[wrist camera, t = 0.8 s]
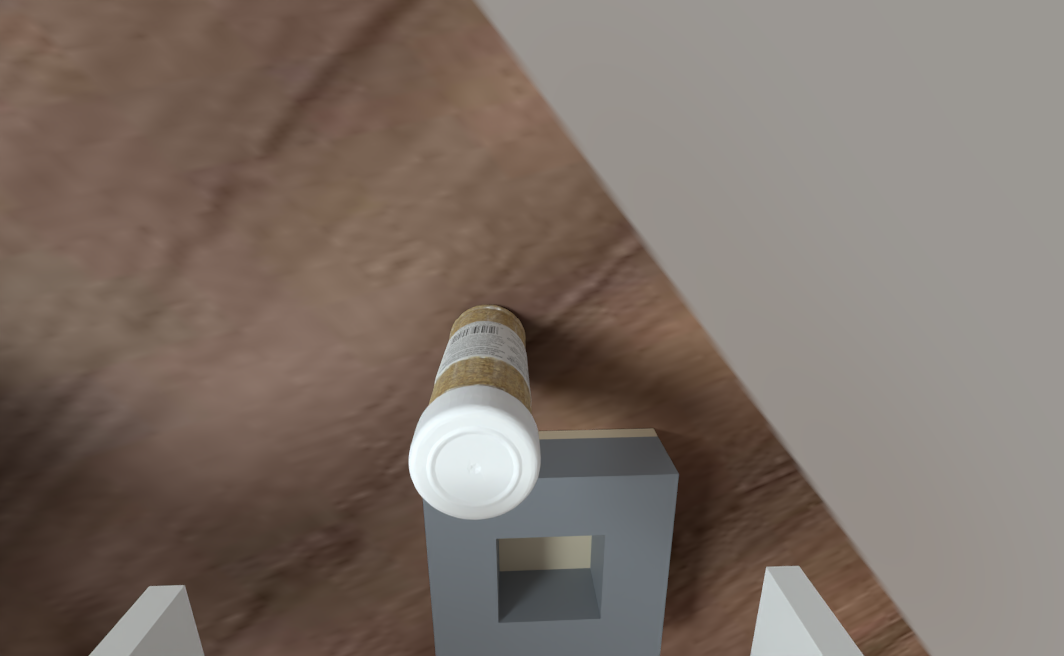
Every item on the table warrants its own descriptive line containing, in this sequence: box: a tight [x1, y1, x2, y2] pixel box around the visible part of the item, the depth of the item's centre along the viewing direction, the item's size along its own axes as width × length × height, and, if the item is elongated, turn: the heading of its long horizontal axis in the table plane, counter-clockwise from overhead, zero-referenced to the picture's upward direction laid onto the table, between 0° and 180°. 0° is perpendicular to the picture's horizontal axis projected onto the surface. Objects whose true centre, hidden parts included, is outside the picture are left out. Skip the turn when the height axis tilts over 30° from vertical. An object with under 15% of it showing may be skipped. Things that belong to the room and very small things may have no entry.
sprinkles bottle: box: [409, 305, 541, 520], centre depth 23 cm, size 5×5×14 cm
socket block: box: [423, 428, 679, 656], centre depth 31 cm, size 14×14×5 cm
